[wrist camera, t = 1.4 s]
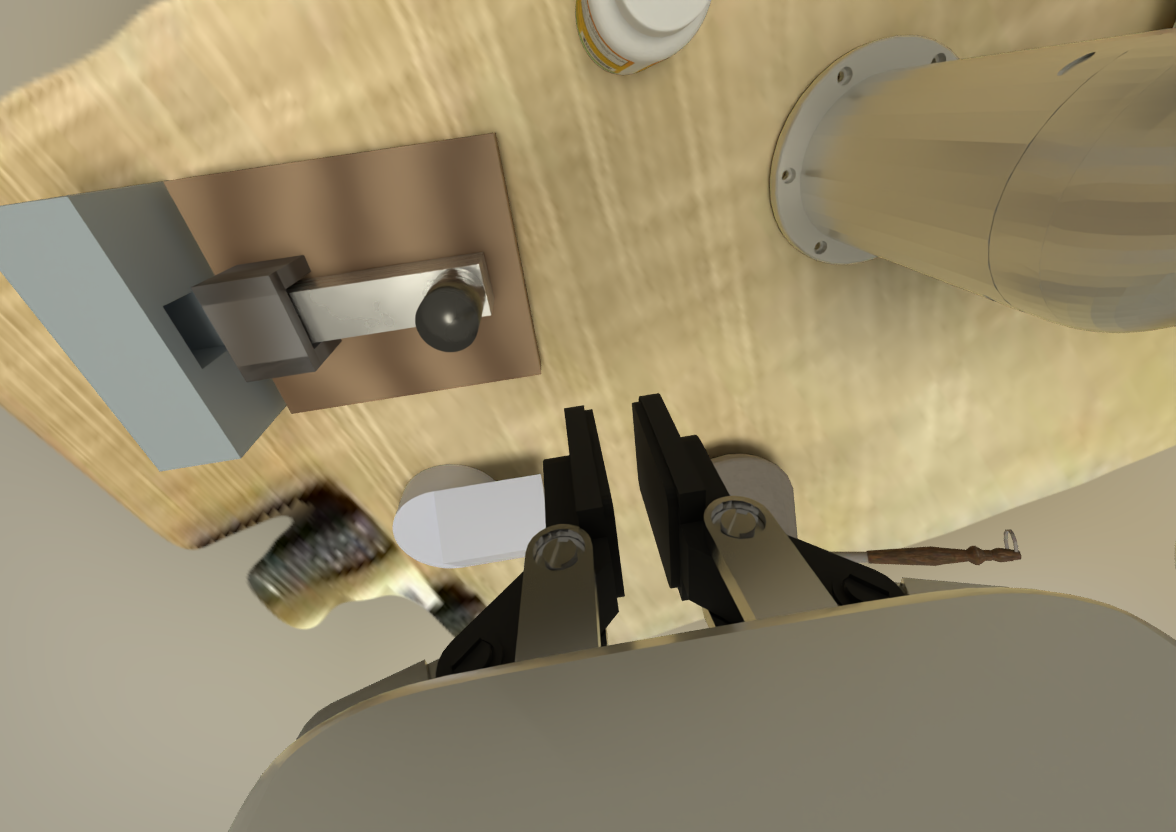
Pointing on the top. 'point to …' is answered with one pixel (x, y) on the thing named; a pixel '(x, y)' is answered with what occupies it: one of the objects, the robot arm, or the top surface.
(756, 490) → the coffee pot
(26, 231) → the block
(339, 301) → the bolt
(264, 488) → the top surface
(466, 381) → the door panel
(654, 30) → the supplement bottle
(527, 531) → the wedge on round base
